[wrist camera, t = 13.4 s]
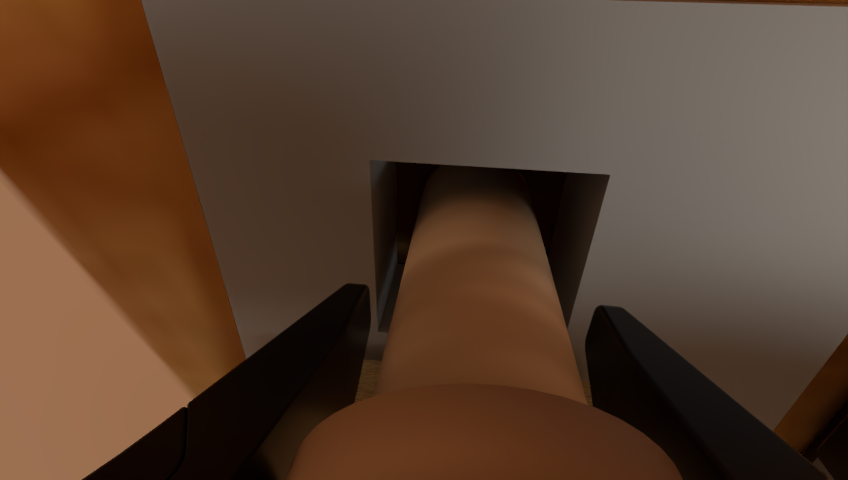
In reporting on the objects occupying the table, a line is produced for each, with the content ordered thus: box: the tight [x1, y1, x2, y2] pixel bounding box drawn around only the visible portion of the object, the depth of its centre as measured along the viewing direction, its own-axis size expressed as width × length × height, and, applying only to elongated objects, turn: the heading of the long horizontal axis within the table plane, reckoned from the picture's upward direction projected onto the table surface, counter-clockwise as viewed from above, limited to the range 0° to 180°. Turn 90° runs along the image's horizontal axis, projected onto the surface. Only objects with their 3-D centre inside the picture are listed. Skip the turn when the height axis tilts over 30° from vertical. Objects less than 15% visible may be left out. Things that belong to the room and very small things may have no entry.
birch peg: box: [286, 164, 683, 480], centre depth 8 cm, size 4×4×10 cm
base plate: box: [141, 0, 848, 431], centre depth 12 cm, size 14×18×3 cm
